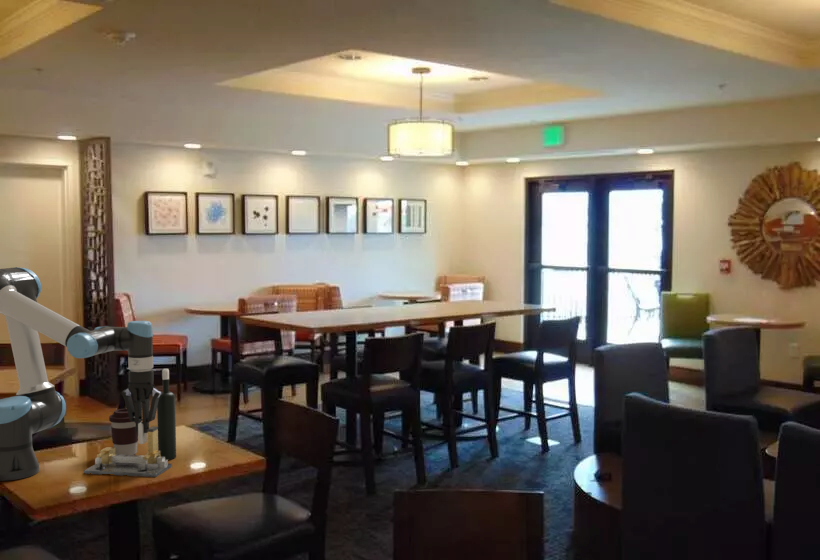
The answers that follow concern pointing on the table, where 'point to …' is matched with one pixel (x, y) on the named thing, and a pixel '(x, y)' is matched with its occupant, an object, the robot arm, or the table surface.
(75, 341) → the robot arm
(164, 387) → the wine bottle
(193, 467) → the table surface
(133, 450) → the coffee cup
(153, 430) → the sliding leg
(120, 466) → the trammel plate
